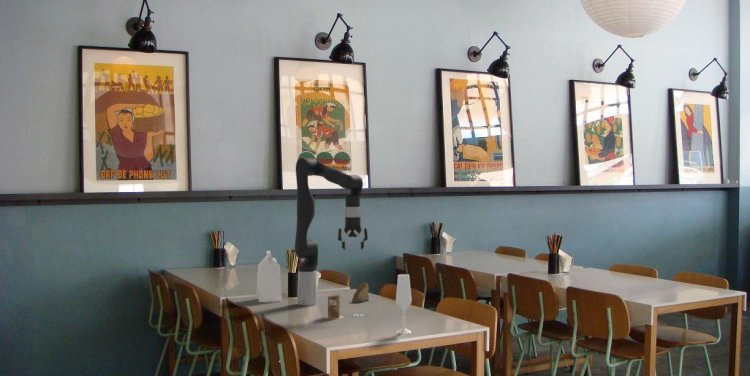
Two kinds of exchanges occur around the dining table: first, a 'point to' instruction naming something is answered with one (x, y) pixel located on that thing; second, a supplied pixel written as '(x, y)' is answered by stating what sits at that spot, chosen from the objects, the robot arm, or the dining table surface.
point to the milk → (269, 280)
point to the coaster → (333, 318)
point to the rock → (361, 293)
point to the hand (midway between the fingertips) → (353, 249)
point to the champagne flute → (403, 298)
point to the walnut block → (333, 306)
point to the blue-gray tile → (358, 315)
